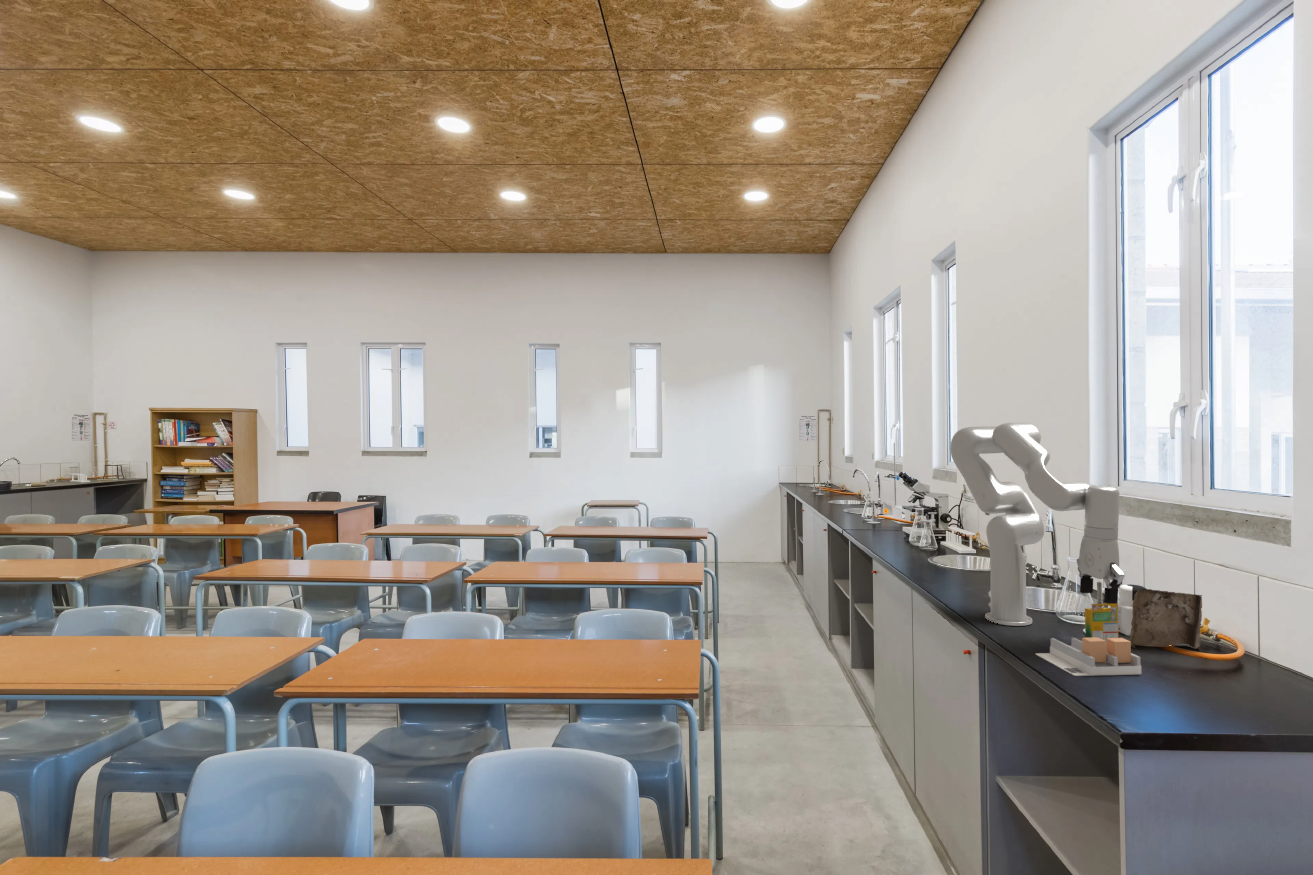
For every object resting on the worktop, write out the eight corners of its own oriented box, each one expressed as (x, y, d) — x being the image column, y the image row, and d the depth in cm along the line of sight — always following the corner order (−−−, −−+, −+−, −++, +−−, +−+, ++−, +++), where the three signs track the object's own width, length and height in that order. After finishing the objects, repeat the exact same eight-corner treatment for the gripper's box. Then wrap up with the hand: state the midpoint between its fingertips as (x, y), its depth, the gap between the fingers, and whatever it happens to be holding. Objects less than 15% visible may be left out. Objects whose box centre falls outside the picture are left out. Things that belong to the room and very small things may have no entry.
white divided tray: (1035, 654, 180) (1035, 638, 180) (1096, 652, 180) (1096, 637, 180) (1074, 675, 164) (1074, 658, 164) (1141, 674, 164) (1141, 657, 164)
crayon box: (1111, 644, 187) (1111, 600, 187) (1119, 647, 184) (1118, 603, 184) (1084, 644, 187) (1084, 601, 187) (1092, 648, 184) (1091, 603, 184)
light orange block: (1106, 658, 168) (1106, 638, 168) (1122, 658, 169) (1121, 637, 169) (1115, 662, 165) (1114, 641, 165) (1130, 662, 166) (1130, 641, 166)
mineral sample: (1132, 648, 183) (1132, 589, 183) (1124, 644, 187) (1124, 586, 187) (1204, 651, 181) (1204, 591, 181) (1195, 646, 185) (1194, 588, 185)
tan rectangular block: (1082, 658, 169) (1081, 637, 169) (1097, 657, 169) (1097, 637, 169) (1090, 662, 166) (1090, 641, 166) (1106, 661, 166) (1105, 640, 166)
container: (1140, 628, 201) (1139, 582, 201) (1156, 636, 194) (1156, 588, 194) (1111, 628, 202) (1110, 582, 202) (1126, 635, 194) (1126, 588, 194)
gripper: (1066, 527, 194) (1064, 589, 195) (1109, 539, 177) (1106, 607, 177) (1093, 527, 194) (1090, 589, 195) (1138, 539, 177) (1135, 607, 178)
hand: (1098, 597), depth 186 cm, fingers open, 9 cm apart
